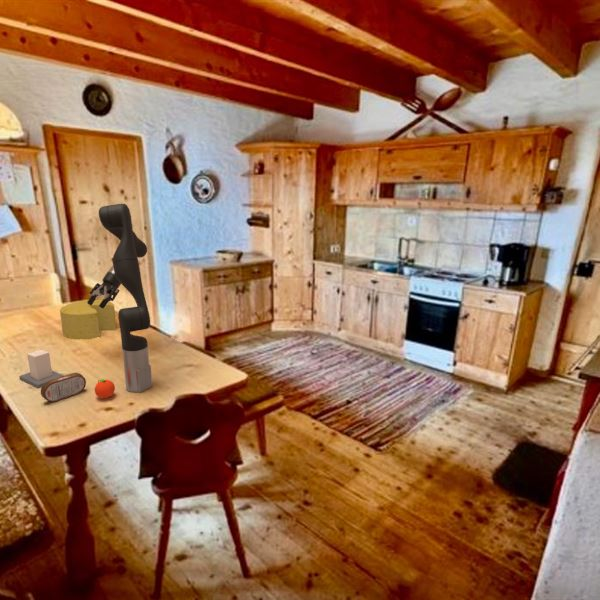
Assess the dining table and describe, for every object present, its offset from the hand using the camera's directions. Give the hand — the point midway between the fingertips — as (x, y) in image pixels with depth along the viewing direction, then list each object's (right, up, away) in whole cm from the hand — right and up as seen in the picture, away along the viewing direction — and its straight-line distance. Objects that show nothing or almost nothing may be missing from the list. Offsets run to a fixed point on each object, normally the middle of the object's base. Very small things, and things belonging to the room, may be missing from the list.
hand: (94, 305), depth 172 cm
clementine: (+16, -35, -23) cm, 44 cm away
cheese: (-26, -15, +44) cm, 54 cm away
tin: (+2, -35, -24) cm, 42 cm away
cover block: (-16, -29, -11) cm, 35 cm away
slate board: (-16, -30, -11) cm, 36 cm away
